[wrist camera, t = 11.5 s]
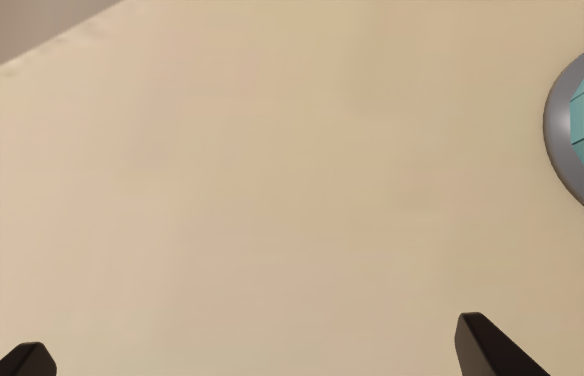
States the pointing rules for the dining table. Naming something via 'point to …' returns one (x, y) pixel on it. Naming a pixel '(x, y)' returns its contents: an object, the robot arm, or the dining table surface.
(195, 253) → the dining table surface
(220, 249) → the dining table surface
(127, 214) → the dining table surface
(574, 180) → the teal round bowl
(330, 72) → the dining table surface
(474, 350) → the robot arm
